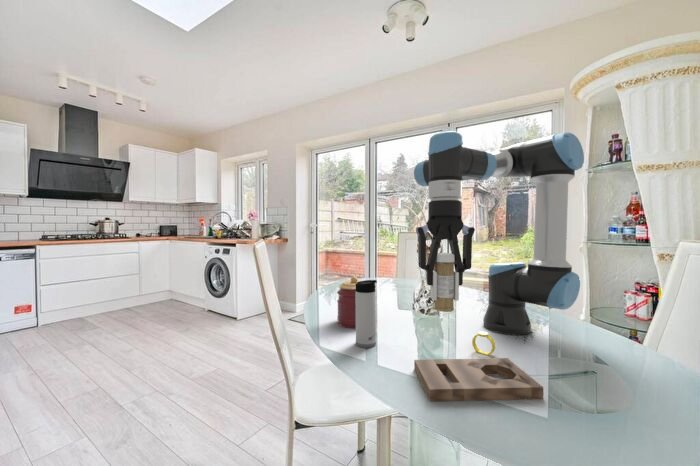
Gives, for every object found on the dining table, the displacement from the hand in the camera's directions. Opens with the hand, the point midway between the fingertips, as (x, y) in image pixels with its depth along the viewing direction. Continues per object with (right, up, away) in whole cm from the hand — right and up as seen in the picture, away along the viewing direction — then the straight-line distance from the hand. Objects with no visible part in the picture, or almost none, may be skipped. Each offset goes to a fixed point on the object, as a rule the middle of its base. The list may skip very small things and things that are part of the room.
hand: (444, 298), depth 72 cm
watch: (+16, -19, +15) cm, 29 cm away
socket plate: (+6, -19, -1) cm, 20 cm away
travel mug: (-17, -19, +22) cm, 34 cm away
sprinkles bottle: (0, -3, 0) cm, 3 cm away
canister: (-21, -19, +43) cm, 51 cm away
